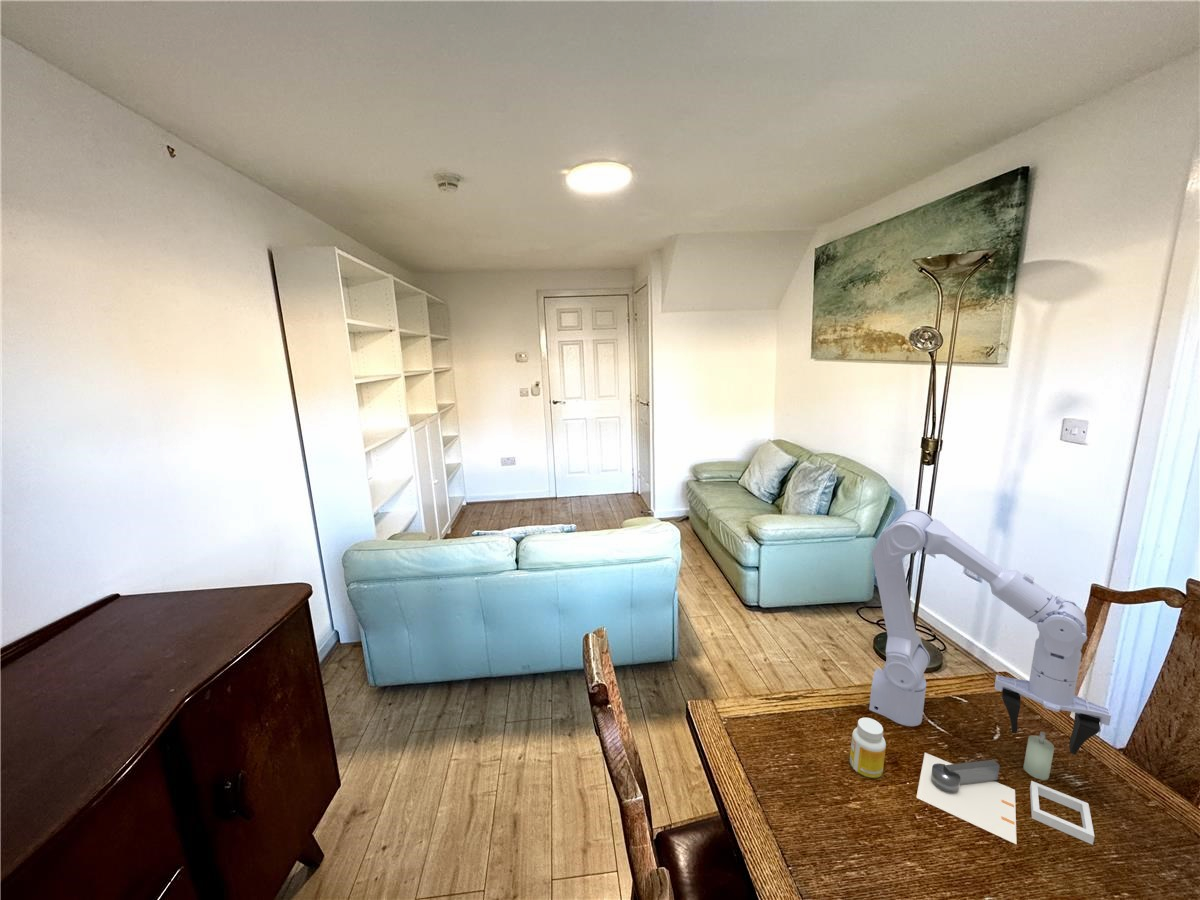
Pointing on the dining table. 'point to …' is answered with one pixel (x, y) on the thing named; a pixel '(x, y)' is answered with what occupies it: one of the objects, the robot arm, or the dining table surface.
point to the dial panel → (972, 801)
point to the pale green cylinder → (1038, 756)
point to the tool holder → (1058, 823)
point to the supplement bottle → (868, 748)
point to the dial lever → (963, 774)
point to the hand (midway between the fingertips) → (1042, 739)
